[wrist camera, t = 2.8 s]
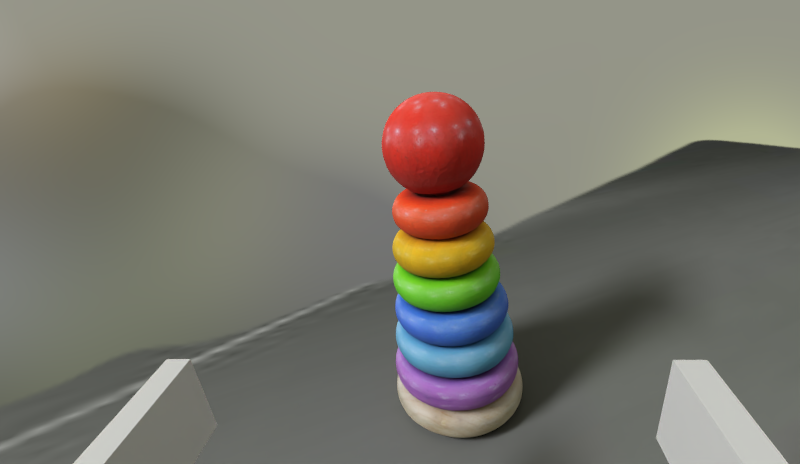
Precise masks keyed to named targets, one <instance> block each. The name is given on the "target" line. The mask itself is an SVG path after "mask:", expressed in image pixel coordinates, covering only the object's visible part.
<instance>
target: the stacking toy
mask: <svg viewBox="0 0 800 464" xmlns="http://www.w3.org/2000/svg"><path fill="white" fill-rule="evenodd" d="M484 144H485V142H484V131H483V128H482V125H481V122H480V120H479V118H478V116H477V114H476V113H475V112H474V110H473V109H472V108H471V107H470V106H469V105H468V104H467V103H466V102H465V101H463V100H462V99H460V98H458V97H456V96H454V95H451V94H447V93H442V92H426V93H421V94H417V95H415V96H413V97H411V98H408V99H407V100H405V101H404V102H402V103H401V104H400V105H399V106H398V107H397V108H396V109H395V110H394V111H393V113H392V114H391V115H390V117H389V119H388V121H387V122H386V124H385V128H384V131H383V137H382V152H383V157H384V160H385V163H386V166H387V168H388V170H389V172H390V173H391V175H392V176H393V177H394V178H395V179H396V181H398V183H400V184H401V185H402V186H403V187H405V188H406V189H405V190H404V191H402V192H401V193H400V194H399V195H398V196H397V198H396V199H395V201H394V204H393V208H392V214H393V218H394V221H395V223H396V225H397V226H398V227H399V228H400V230H399V232H398V233H397V234H396V236H395V238H394V241H393V254H394V257H395V259H396V261H397V264H396V266H395V270H394V275H393V278H394V285H395V288H396V290H397V292H398V295H397V298H396V315H397V318H398V320H399V321H398V323H397V328H396V339H397V344H398V350H397V354H396V368H397V372H398V379H397V389H398V395H399V399H400V401H401V403H402V405H403V407H404V409H405V411H406V412H407V413H408V415H409V416H410V417H411V418H412V419H413V420H414V421H415V422H416V423H418V424H419V425H421V426H422V427H424V428H426V429H428V430H430V431H432V432H435V433H438V434H441V435H444V436H449V437H458V438H467V437H476V436H480V435H483V434H486V433H489V432H491V431H493V430H495V429H497V428H498V427H500V426H501V425H503V424H504V423H505V422H506V421H507V420H508V419H509V418H510V417H511V416H512V415H513V414H514V412H515V411H516V409H517V407H518V405H519V403H520V400H521V396H522V389H523V384H522V377H521V373H520V370H519V368H518V354H517V350H516V347H515V345H514V343H513V341H512V340H513V326H512V321H511V319H510V317H509V315H508V313H507V310H508V298H507V294H506V292H505V290H504V288H503V286H502V285H501V283H500V282H499V279H500V268H499V264H498V262H497V260H496V258H495V256H494V255H493V254H492V252H493V249H494V236H493V233H492V231H491V228H490V227H489V226H488V225H487V224H486V223H485V222H484V219H485V217H486V215H487V212H488V198H487V196H486V194H485V192H484V191H483V190H482V188H480V187H479V186H478V185H476V184H474V183H472V182H469V180H470V179H471V178H472V176H473V175H474V174H475V172H476V171H477V169H478V167H479V165H480V162H481V160H482V157H483V153H484Z"/></svg>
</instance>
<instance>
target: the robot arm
mask: <svg viewBox="0 0 800 464" xmlns="http://www.w3.org/2000/svg"><path fill="white" fill-rule="evenodd" d="M216 427H217V423H216V421H215V418H214V416H213V414H212V411H211V409H210V406H209V404H208V401H207V399H206V397H205V394H204V392H203V389H202V387H201V384H200V382H199V380H198V377H197V375H196V372H195V370H194V367H193V365H192V363H191V360H190V359H167V360H166V361H165V362H164V363H163V364H162V365H161V366H160V367H159V369H158V370H157V371H156V372H155V373H154V374H153V375H152V376H151V377H150V379H149V380H148V381H147V382H146V383H145V384H144V385H143V386H142V388H141V389H140V390H139V391H138V392H137V393H136V394H135V395H134V396H133V398H132V399H131V400H130V401H129V402H128V403H127V404H126V405H125V406H124V408H123V409H122V410H121V411H120V412H119V413H118V414H117V415H116V416H115V418H114V419H113V420H112V421H111V422H110V423H109V424H108V425H107V426H106V428H105V429H104V430H103V431H102V432H101V433H100V434H99V435H98V437H97V438H96V439H95V440H94V441H93V442H92V443H91V444H90V445H89V447H88V448H87V449H86V450H85V451H84V452H83V453H82V454H81V455H80V457H79V458H78V459H77V460H76V461H75V462H74V463H73V464H194V462H195V461H196V459H197V457H198V456H199V454H200V453H201V451H202V449H203V448H204V446H205V444H206V443H207V441H208V440H209V438H210V436H211V435H212V433H213V431H214V430H215V428H216ZM656 439H657V441H658V442H659V444H660V446H661V448H662V450H663V452H664V454H665V456H666V458H667V460H668V462H669V464H788V463H787V461H786V460H785V459H784V458H783V456H782V455H781V454H780V452H779V451H778V450H777V449H776V447H775V446H774V445H773V443H772V442H771V441H770V440H769V438H768V437H767V436H766V435H765V433H764V432H763V431H762V429H761V428H760V427H759V426H758V424H757V423H756V422H755V420H754V419H753V418H752V417H751V415H750V414H749V413H748V412H747V410H746V409H745V408H744V406H743V405H742V404H741V403H740V401H739V400H738V399H737V397H736V396H735V395H734V394H733V392H732V391H731V390H730V389H729V387H728V386H727V385H726V383H725V382H724V381H723V380H722V378H721V377H720V376H719V374H718V373H717V372H716V371H715V369H714V368H713V367H712V366H711V364H710V363H709V362H708V360H673V362H672V367H671V372H670V376H669V381H668V386H667V390H666V395H665V399H664V404H663V409H662V413H661V418H660V423H659V427H658V432H657V437H656Z"/></svg>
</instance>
